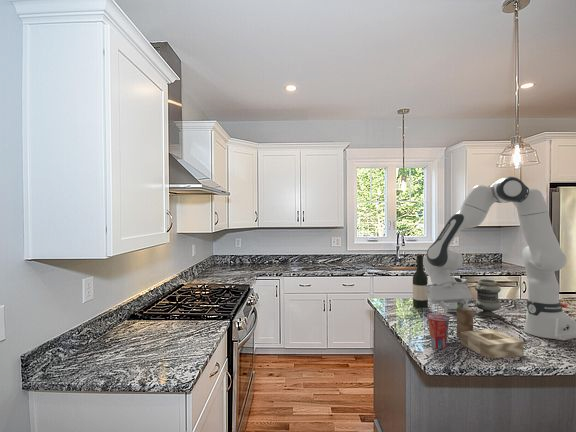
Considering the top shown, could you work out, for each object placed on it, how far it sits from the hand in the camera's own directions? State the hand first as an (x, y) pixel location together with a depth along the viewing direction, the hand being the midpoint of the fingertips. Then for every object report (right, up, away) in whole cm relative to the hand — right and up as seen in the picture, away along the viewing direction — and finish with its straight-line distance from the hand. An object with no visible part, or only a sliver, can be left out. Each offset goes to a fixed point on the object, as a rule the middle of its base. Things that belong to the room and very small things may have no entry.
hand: (457, 310), depth 156 cm
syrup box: (+15, -10, +37) cm, 41 cm away
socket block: (+4, -10, -19) cm, 22 cm away
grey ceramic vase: (+29, -10, +28) cm, 42 cm away
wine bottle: (+1, -10, +48) cm, 49 cm away
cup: (-15, -11, -15) cm, 24 cm away
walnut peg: (+1, -10, -4) cm, 11 cm away
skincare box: (+22, -10, +45) cm, 51 cm away
